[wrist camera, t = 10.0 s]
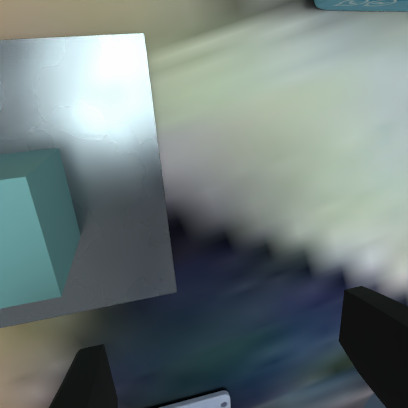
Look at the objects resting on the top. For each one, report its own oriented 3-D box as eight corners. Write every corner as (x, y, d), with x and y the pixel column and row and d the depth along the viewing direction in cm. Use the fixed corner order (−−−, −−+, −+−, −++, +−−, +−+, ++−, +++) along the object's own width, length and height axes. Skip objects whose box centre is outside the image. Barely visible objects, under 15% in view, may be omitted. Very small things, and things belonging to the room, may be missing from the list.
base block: (170, 266, 19) (177, 292, 16) (-56, 309, 16) (-86, 345, 14) (141, 41, 14) (143, 33, 12) (-173, 58, 12) (-244, 52, 10)
